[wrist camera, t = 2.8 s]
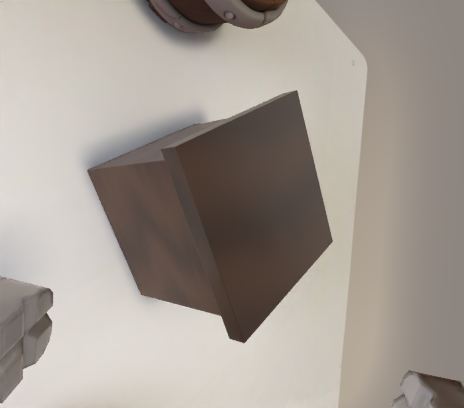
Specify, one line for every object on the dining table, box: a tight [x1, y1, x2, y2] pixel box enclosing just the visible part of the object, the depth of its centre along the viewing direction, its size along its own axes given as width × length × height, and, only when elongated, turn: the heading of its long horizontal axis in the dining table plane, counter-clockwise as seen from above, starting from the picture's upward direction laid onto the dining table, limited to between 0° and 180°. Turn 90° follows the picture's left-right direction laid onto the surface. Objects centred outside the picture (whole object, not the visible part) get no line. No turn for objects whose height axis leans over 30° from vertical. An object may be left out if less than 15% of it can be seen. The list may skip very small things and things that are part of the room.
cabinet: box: [87, 90, 333, 343], centre depth 35 cm, size 15×16×14 cm
